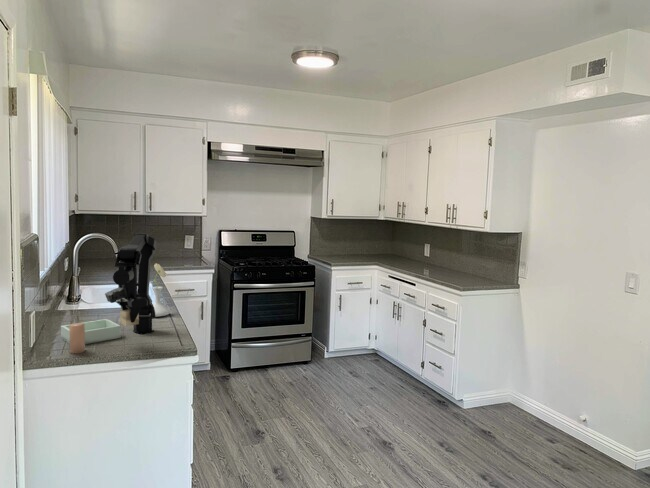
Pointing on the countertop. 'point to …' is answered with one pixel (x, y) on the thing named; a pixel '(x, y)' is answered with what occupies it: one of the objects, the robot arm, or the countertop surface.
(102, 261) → the countertop surface
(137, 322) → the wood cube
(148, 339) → the countertop surface
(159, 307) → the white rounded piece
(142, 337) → the countertop surface
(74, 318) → the countertop surface
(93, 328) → the tote
